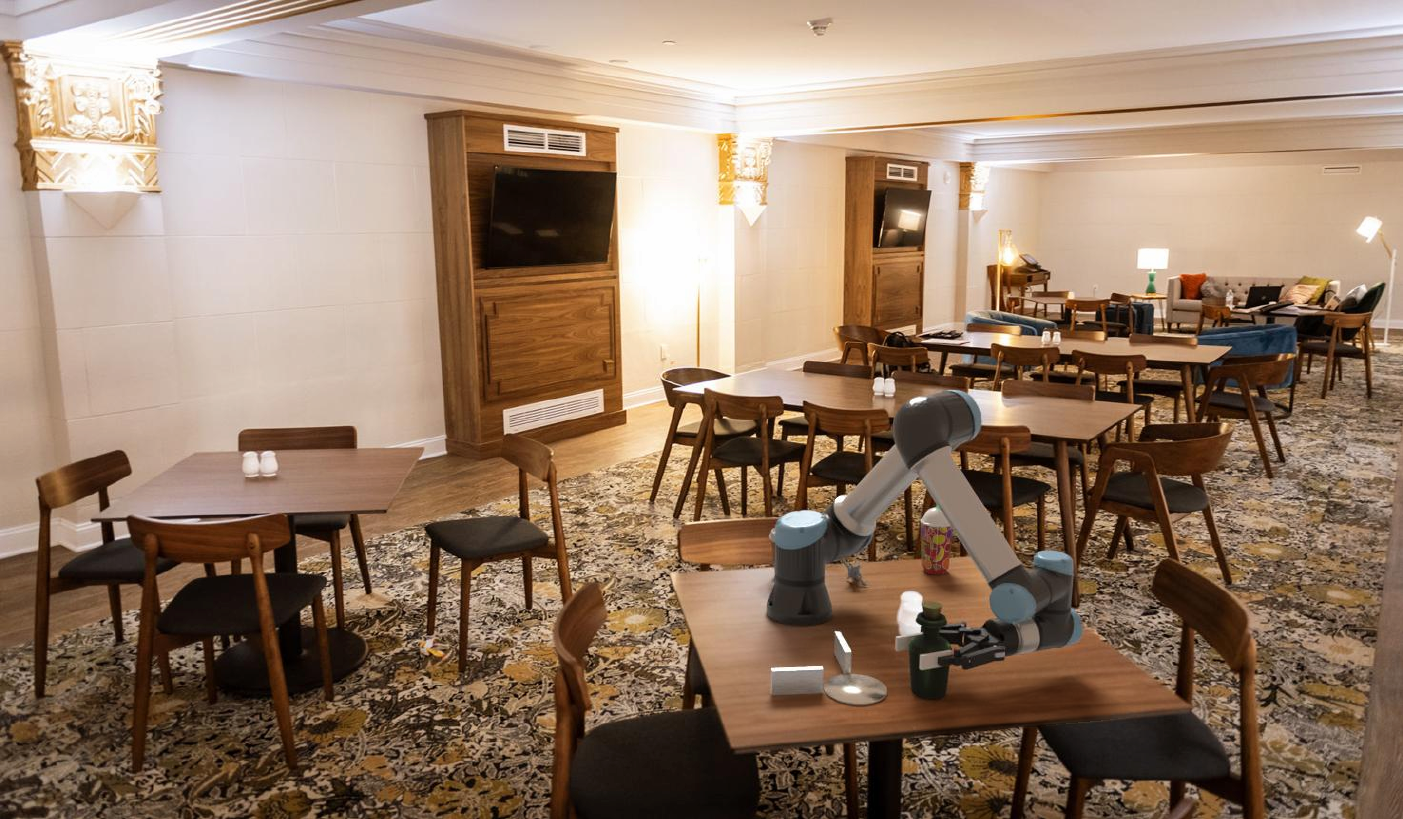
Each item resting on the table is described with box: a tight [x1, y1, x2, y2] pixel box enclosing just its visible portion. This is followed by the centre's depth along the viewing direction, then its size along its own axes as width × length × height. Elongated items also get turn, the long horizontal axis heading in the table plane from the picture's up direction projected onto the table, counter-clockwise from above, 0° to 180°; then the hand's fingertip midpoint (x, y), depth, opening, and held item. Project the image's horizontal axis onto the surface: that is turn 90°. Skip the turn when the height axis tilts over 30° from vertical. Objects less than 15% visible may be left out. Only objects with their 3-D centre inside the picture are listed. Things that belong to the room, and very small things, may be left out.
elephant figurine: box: [839, 557, 868, 587], centre depth 245 cm, size 10×6×9 cm
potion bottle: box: [908, 600, 953, 702], centre depth 184 cm, size 8×8×18 cm
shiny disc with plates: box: [770, 631, 888, 706], centre depth 189 cm, size 19×24×5 cm
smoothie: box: [920, 504, 954, 576], centre depth 250 cm, size 8×8×20 cm
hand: (908, 652), depth 183 cm, fingers closed on potion bottle, 8 cm apart
